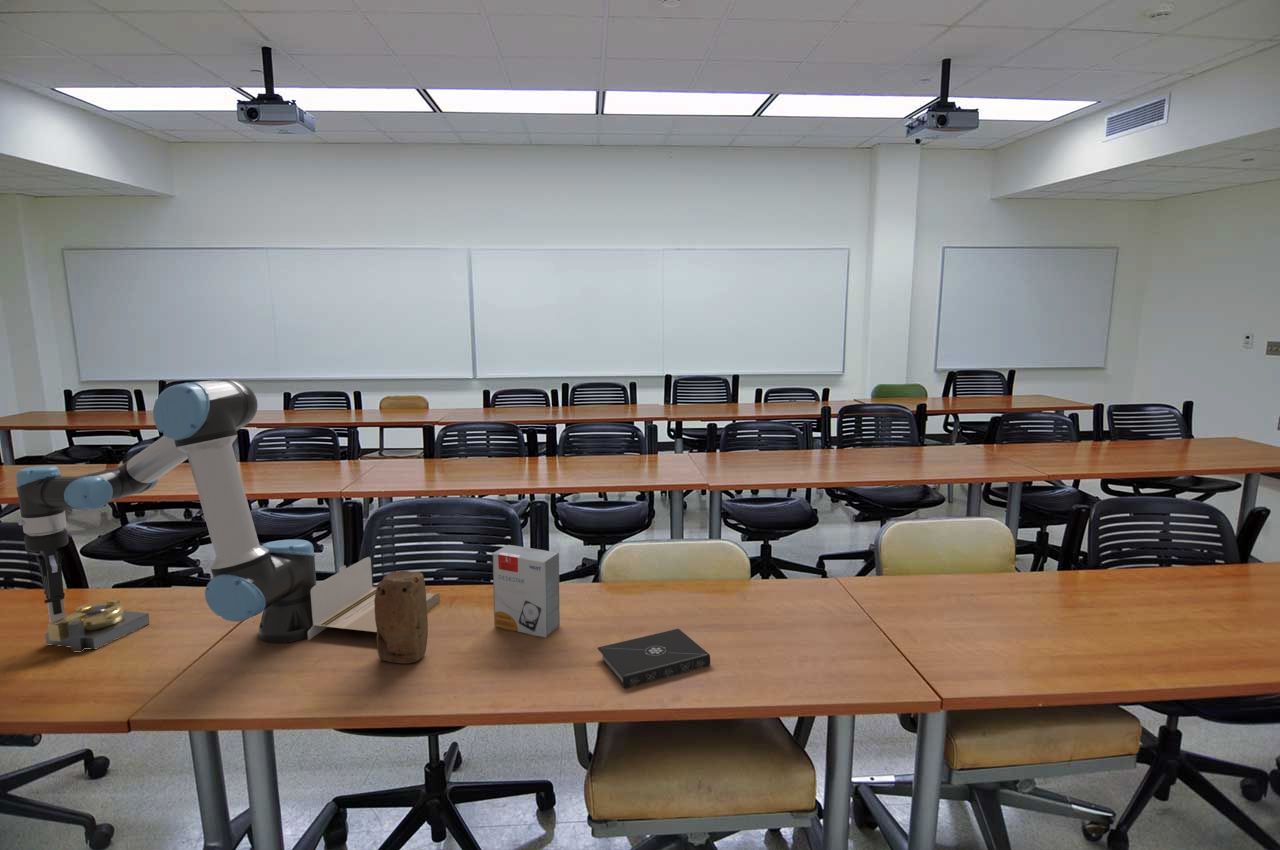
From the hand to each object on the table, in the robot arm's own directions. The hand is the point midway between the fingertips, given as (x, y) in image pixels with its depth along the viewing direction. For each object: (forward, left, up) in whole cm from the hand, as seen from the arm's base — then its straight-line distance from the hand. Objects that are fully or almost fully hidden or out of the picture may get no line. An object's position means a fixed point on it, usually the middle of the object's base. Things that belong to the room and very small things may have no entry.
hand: (58, 625), depth 154 cm
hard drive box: (-109, -28, -5) cm, 113 cm away
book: (-144, -17, -5) cm, 145 cm away
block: (-86, -8, -5) cm, 86 cm away
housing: (-5, -4, -5) cm, 8 cm away
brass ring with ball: (-5, -3, -1) cm, 6 cm away
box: (-69, -26, -5) cm, 74 cm away
